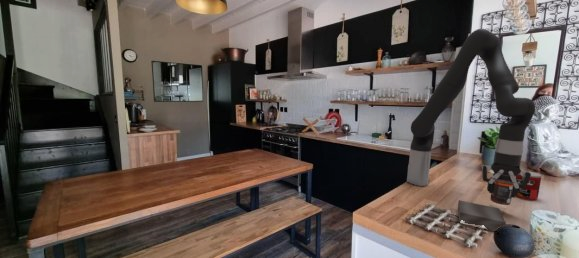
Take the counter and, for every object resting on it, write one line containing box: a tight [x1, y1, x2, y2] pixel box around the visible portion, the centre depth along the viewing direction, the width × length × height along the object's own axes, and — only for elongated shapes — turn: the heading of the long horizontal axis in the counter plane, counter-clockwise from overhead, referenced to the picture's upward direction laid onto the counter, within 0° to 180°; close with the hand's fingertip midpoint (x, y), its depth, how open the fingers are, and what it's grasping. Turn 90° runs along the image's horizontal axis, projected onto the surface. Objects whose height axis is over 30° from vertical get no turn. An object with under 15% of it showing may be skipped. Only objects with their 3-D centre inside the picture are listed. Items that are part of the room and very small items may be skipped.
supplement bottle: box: [490, 174, 514, 206], centre depth 93 cm, size 6×6×11 cm
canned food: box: [515, 171, 542, 201], centre depth 108 cm, size 8×8×11 cm
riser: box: [457, 200, 507, 233], centre depth 86 cm, size 12×12×4 cm
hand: (501, 194), depth 93 cm, fingers closed on supplement bottle, 6 cm apart
